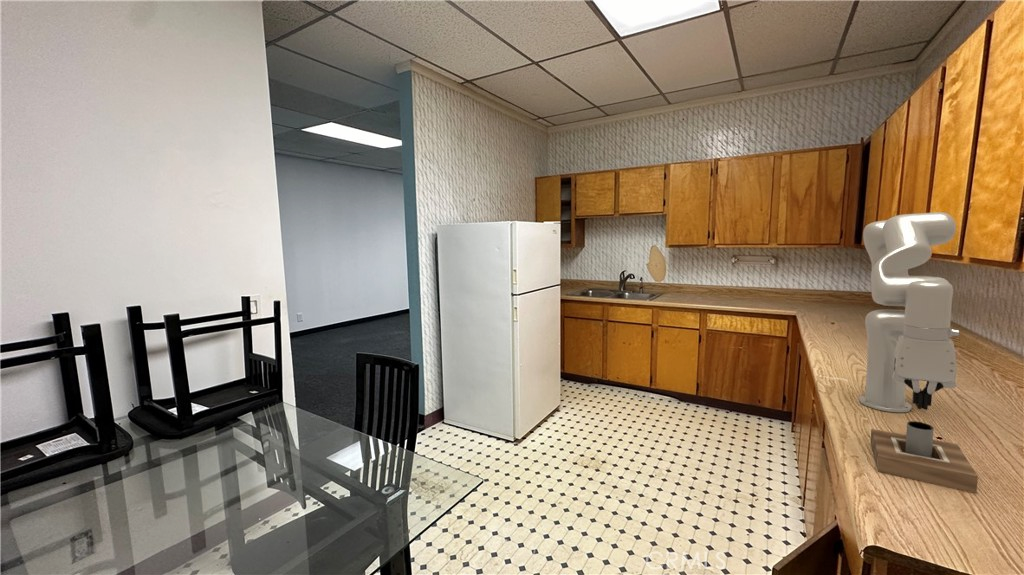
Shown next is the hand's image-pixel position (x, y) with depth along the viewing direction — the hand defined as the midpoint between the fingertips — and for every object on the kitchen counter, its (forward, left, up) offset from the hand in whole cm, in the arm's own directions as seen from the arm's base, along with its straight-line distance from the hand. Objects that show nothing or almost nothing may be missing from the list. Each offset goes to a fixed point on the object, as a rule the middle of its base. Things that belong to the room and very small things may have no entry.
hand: (921, 407), depth 97 cm
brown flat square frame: (0, 0, -15) cm, 15 cm away
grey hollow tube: (0, 0, -15) cm, 15 cm away
